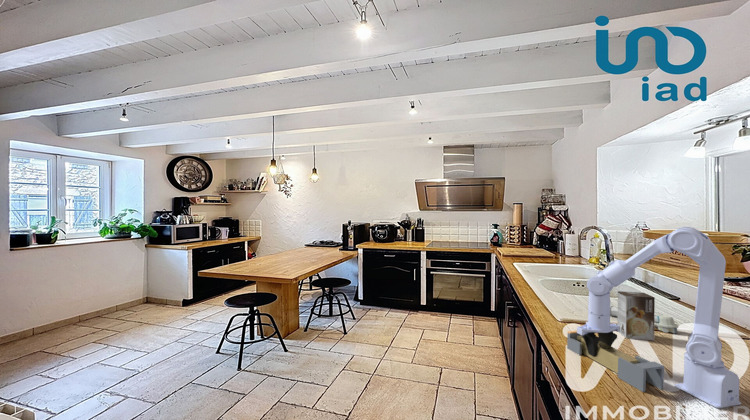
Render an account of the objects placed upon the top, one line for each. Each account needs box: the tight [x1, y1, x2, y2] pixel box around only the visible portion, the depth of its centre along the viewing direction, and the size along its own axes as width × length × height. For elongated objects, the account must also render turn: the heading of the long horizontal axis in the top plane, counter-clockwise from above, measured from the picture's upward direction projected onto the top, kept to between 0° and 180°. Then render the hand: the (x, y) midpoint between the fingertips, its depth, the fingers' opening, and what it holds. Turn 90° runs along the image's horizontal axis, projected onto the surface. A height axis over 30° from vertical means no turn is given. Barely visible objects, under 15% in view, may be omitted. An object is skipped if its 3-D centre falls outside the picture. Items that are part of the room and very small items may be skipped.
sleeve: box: [617, 355, 665, 393], centre depth 86 cm, size 7×7×6 cm
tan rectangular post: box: [577, 336, 639, 374], centre depth 96 cm, size 17×4×5 cm, turn 11°
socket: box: [566, 330, 583, 356], centre depth 105 cm, size 5×7×6 cm
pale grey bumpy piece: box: [610, 305, 679, 334], centre depth 129 cm, size 5×7×25 cm
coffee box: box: [617, 290, 656, 341], centre depth 116 cm, size 9×6×16 cm
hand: (598, 354), depth 99 cm, fingers closed on tan rectangular post, 4 cm apart
